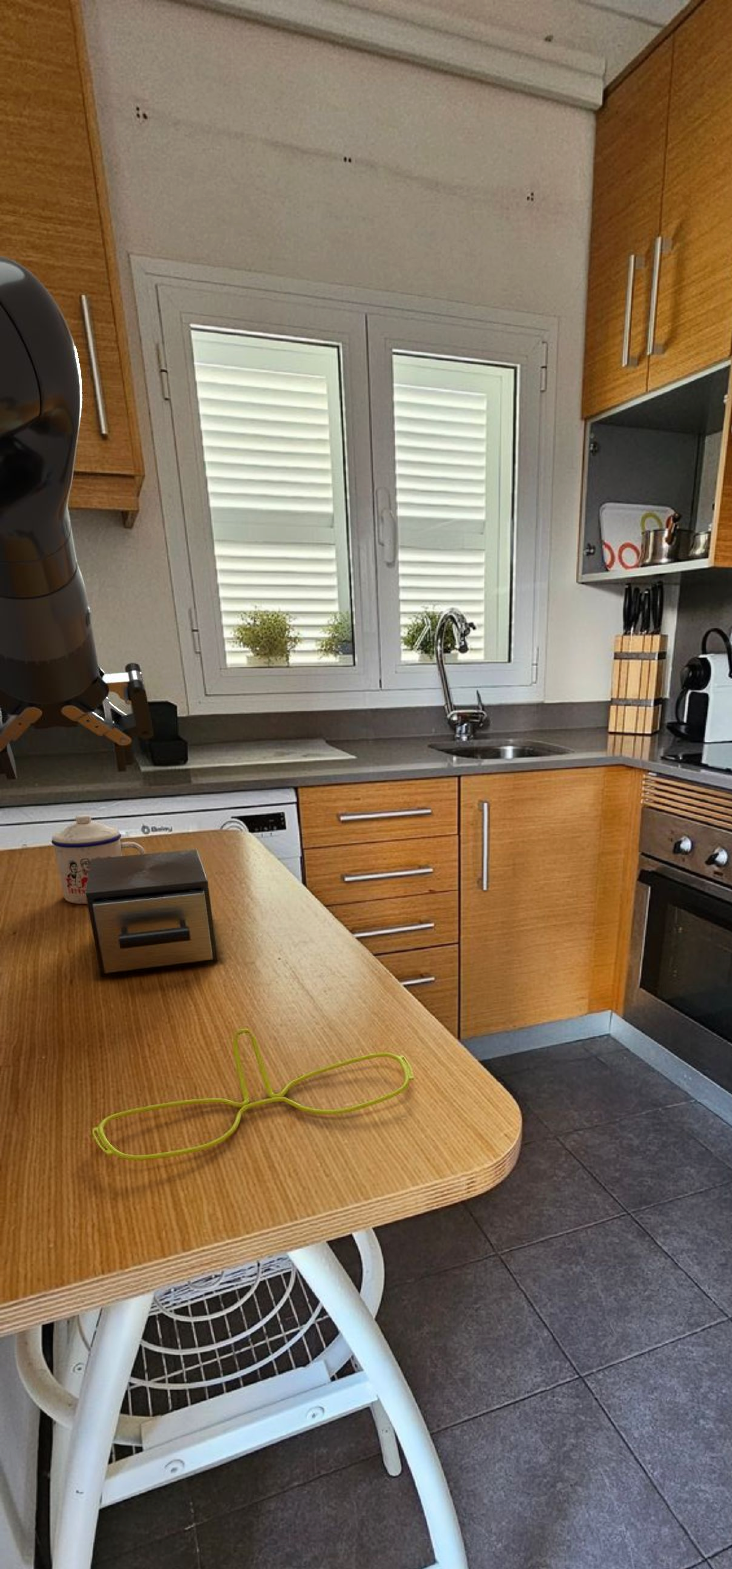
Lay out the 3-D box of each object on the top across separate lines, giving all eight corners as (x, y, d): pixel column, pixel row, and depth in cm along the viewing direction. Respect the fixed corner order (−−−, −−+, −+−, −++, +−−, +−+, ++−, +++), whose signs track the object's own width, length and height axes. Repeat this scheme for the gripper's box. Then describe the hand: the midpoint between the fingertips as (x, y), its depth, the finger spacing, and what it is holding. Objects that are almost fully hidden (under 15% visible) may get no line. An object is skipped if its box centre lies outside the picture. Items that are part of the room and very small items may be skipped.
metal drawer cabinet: (217, 961, 97) (207, 880, 93) (100, 976, 93) (85, 893, 89) (206, 920, 110) (197, 849, 107) (103, 932, 106) (90, 858, 103)
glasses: (101, 1183, 58) (89, 1123, 56) (89, 1115, 66) (78, 1061, 64) (430, 1097, 68) (429, 1044, 66) (384, 1047, 76) (382, 999, 74)
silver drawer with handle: (216, 973, 91) (208, 904, 88) (104, 989, 87) (91, 917, 84) (202, 921, 107) (194, 861, 104) (107, 932, 104) (96, 870, 101)
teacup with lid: (62, 908, 116) (46, 824, 111) (62, 891, 123) (47, 812, 119) (153, 897, 120) (141, 816, 116) (148, 881, 128) (136, 805, 123)
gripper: (133, 575, 60) (148, 727, 75) (-94, 574, 56) (-31, 737, 70) (149, 655, 58) (162, 796, 72) (-88, 661, 53) (-25, 811, 67)
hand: (66, 767), depth 71 cm, fingers open, 8 cm apart
